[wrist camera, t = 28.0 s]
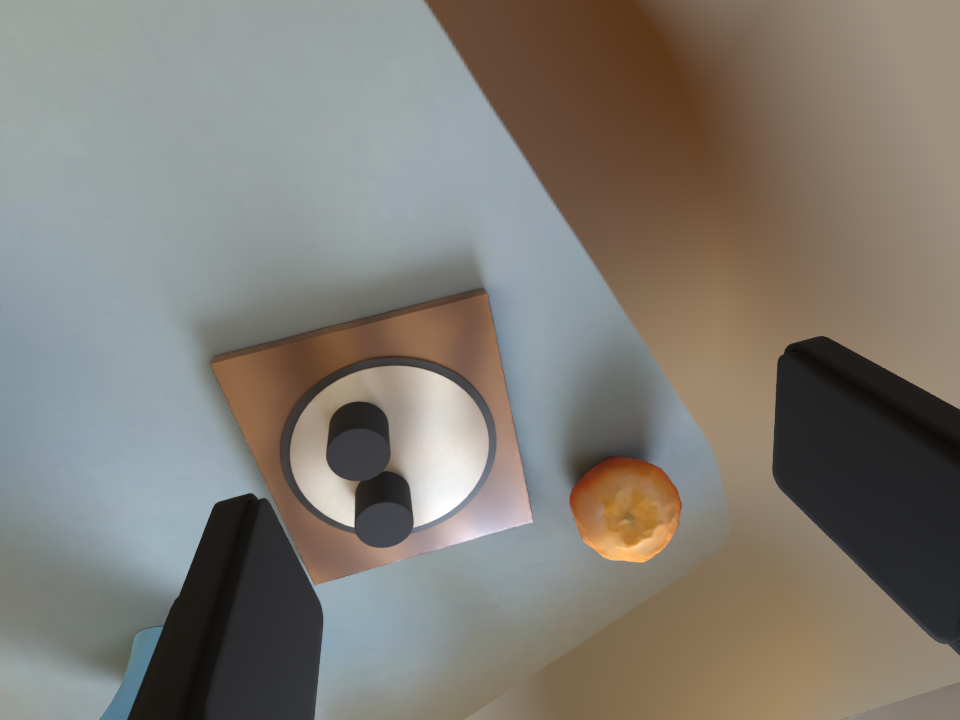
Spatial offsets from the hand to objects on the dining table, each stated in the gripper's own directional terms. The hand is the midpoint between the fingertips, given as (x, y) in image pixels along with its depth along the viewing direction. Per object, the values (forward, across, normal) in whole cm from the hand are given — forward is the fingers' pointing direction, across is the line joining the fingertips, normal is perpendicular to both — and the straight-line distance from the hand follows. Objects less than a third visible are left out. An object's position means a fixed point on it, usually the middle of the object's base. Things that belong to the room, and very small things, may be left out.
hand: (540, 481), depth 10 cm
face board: (+27, +6, +16) cm, 32 cm away
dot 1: (+26, +8, +13) cm, 30 cm away
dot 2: (+26, +8, +19) cm, 33 cm away
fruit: (+27, -9, +25) cm, 38 cm away
